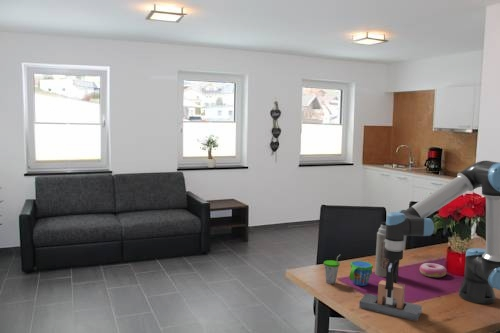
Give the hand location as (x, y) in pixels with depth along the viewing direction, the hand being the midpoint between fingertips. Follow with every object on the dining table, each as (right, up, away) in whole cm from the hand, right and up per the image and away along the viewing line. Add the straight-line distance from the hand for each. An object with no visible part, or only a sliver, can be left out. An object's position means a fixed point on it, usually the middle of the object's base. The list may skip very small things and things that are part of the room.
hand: (390, 301), depth 193 cm
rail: (0, -4, 0) cm, 4 cm away
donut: (+37, 0, +47) cm, 60 cm away
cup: (-20, 0, +31) cm, 37 cm away
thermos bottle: (+10, +1, +45) cm, 46 cm away
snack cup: (-5, 0, +31) cm, 31 cm away
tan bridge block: (0, -2, 0) cm, 2 cm away
